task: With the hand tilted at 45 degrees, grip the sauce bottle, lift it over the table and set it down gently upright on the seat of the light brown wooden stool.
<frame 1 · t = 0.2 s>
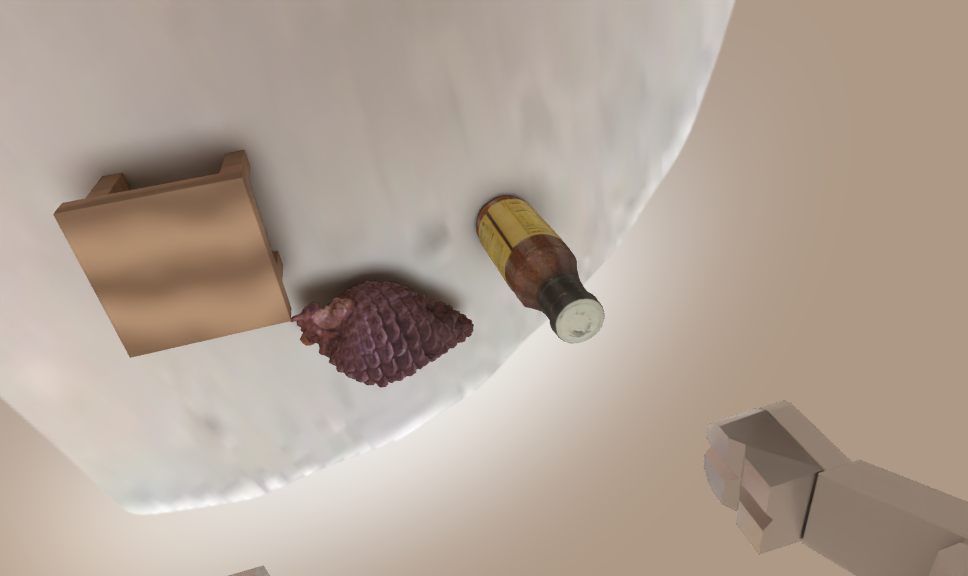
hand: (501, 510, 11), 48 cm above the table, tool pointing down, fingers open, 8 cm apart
sauce bottle: (504, 219, 63), on the table
pine cone: (379, 305, 65), on the table
light brown wooden stool: (199, 224, 56), on the table
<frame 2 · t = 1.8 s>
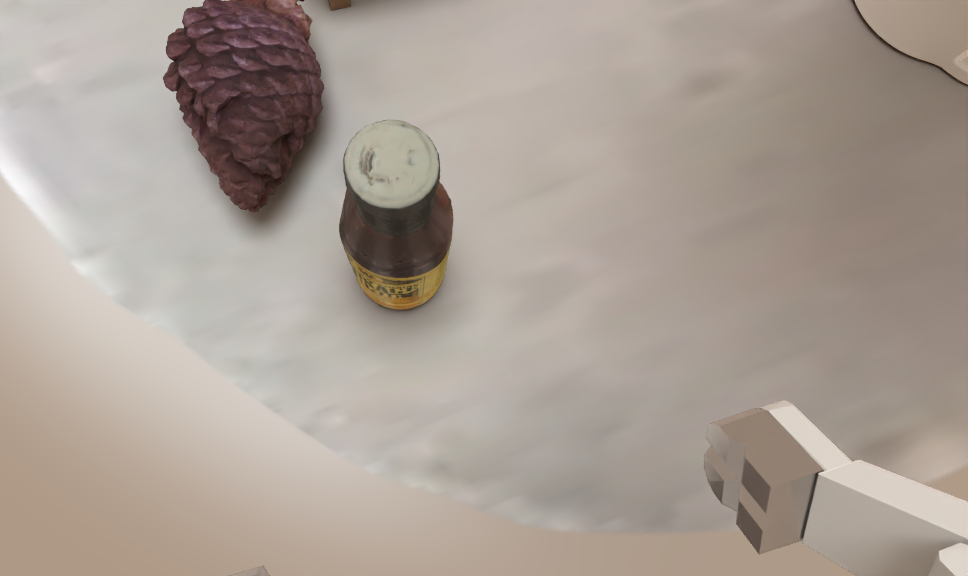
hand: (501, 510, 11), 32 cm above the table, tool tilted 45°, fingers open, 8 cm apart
sauce bottle: (404, 273, 45), on the table
pine cone: (267, 121, 47), on the table
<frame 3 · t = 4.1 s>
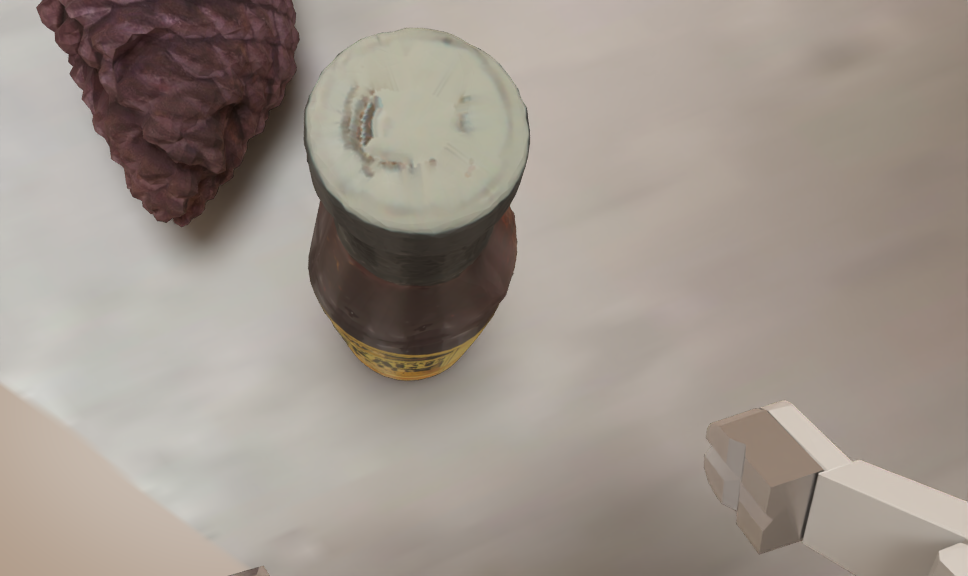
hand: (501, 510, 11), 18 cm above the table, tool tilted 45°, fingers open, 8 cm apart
sauce bottle: (414, 321, 30), on the table
pine cone: (217, 93, 32), on the table
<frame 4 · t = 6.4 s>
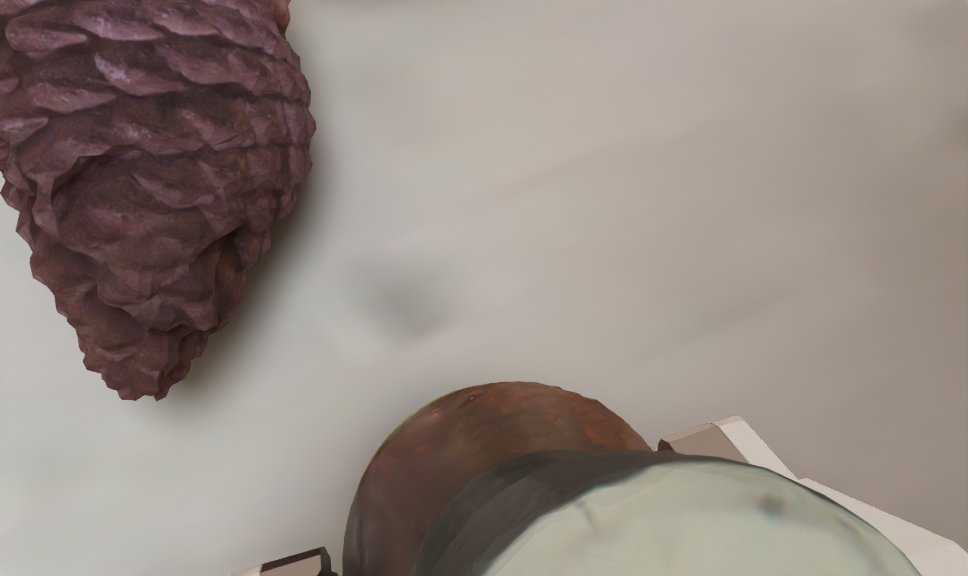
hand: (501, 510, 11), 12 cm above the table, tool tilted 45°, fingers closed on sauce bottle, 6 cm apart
sauce bottle: (466, 489, 23), on the table, touching gripper
pine cone: (208, 184, 25), on the table
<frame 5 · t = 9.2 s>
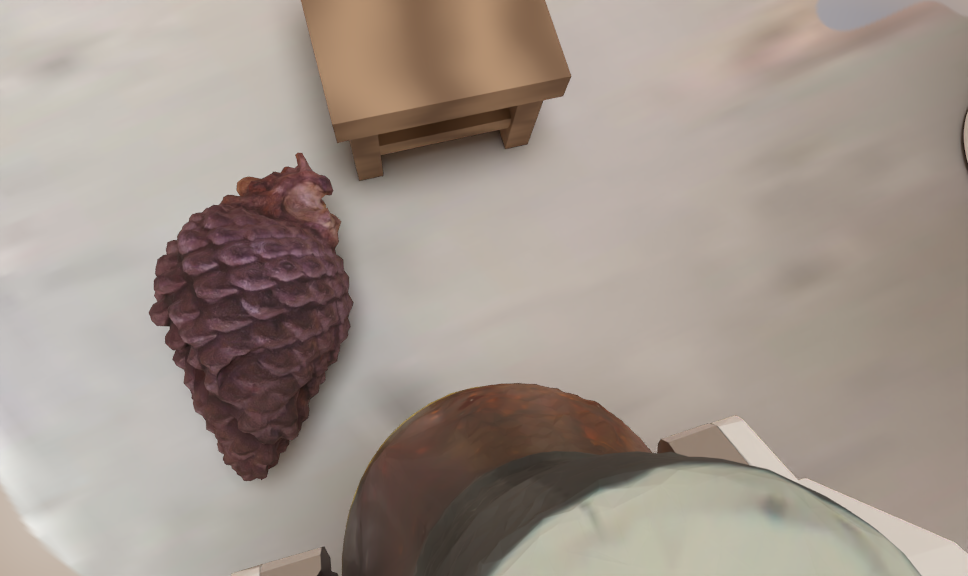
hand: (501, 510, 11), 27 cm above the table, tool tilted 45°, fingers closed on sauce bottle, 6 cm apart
sauce bottle: (463, 491, 23), point 14 cm above the table, touching gripper
pine cone: (278, 324, 38), on the table
light brown wooden stool: (423, 86, 43), on the table
when the fingers open (23 cm above the table, at t = 12.2 s): sauce bottle drops 1 cm, resting on light brown wooden stool.
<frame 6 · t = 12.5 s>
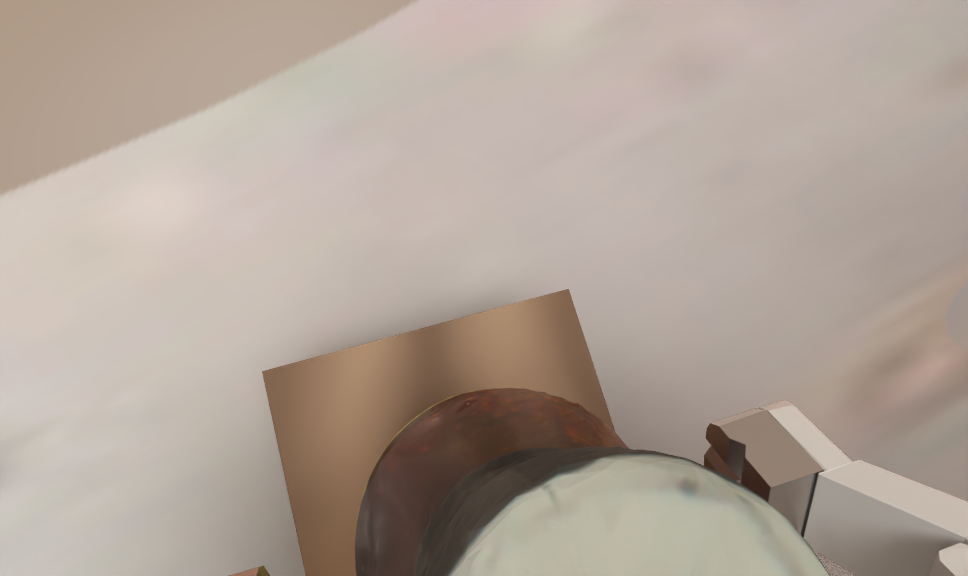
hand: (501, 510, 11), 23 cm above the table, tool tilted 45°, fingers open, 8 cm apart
sauce bottle: (464, 487, 24), point 9 cm above the table, touching light brown wooden stool
light brown wooden stool: (454, 473, 33), on the table
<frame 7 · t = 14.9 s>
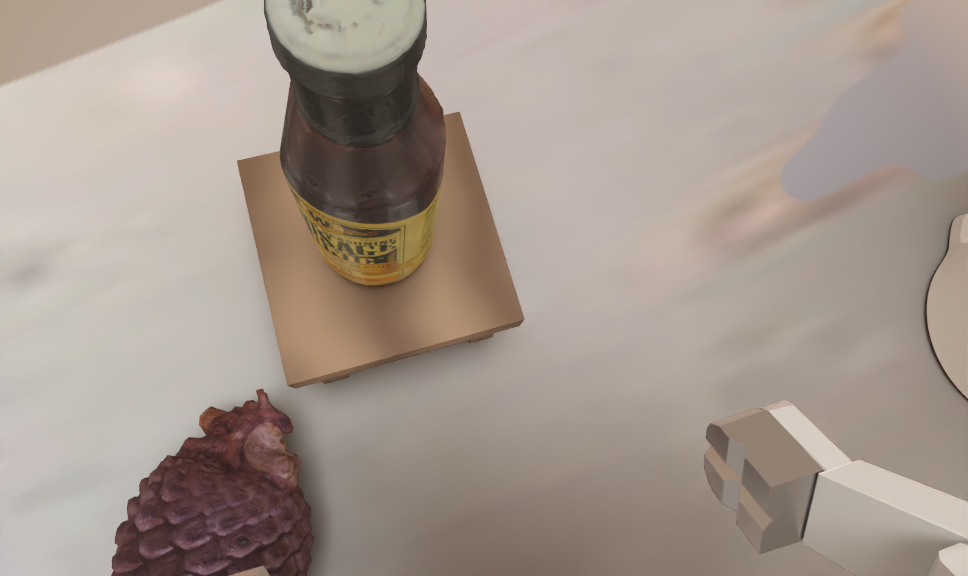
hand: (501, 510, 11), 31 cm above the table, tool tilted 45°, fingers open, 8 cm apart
sauce bottle: (380, 241, 35), point 9 cm above the table, touching light brown wooden stool
pine cone: (244, 538, 39), on the table
light brown wooden stool: (388, 279, 43), on the table
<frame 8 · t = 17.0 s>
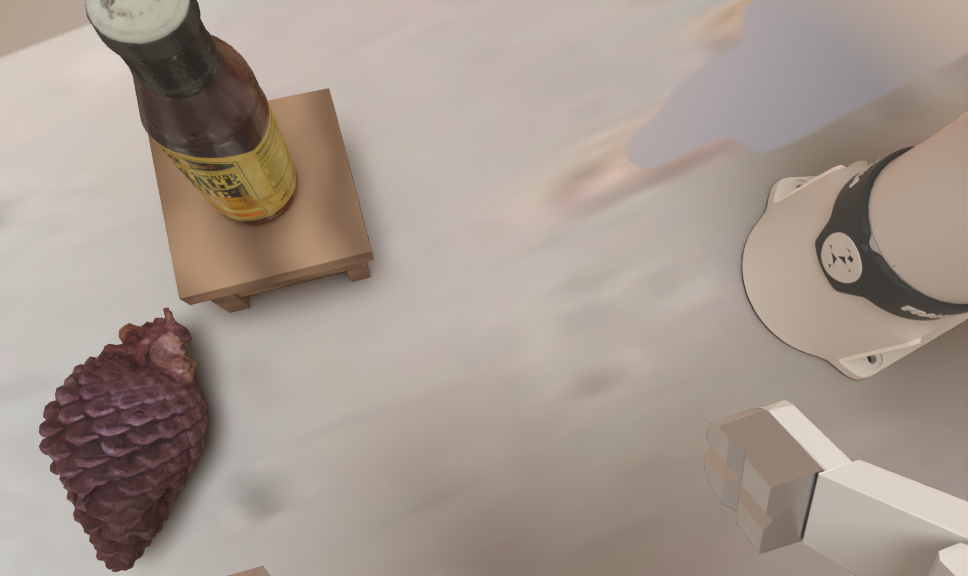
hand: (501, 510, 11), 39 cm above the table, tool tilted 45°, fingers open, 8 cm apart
sauce bottle: (259, 189, 44), point 9 cm above the table, touching light brown wooden stool
pine cone: (159, 434, 48), on the table
light brown wooden stool: (286, 229, 52), on the table
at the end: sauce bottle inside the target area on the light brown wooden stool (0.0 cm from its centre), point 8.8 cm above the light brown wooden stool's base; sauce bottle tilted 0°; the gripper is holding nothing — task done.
